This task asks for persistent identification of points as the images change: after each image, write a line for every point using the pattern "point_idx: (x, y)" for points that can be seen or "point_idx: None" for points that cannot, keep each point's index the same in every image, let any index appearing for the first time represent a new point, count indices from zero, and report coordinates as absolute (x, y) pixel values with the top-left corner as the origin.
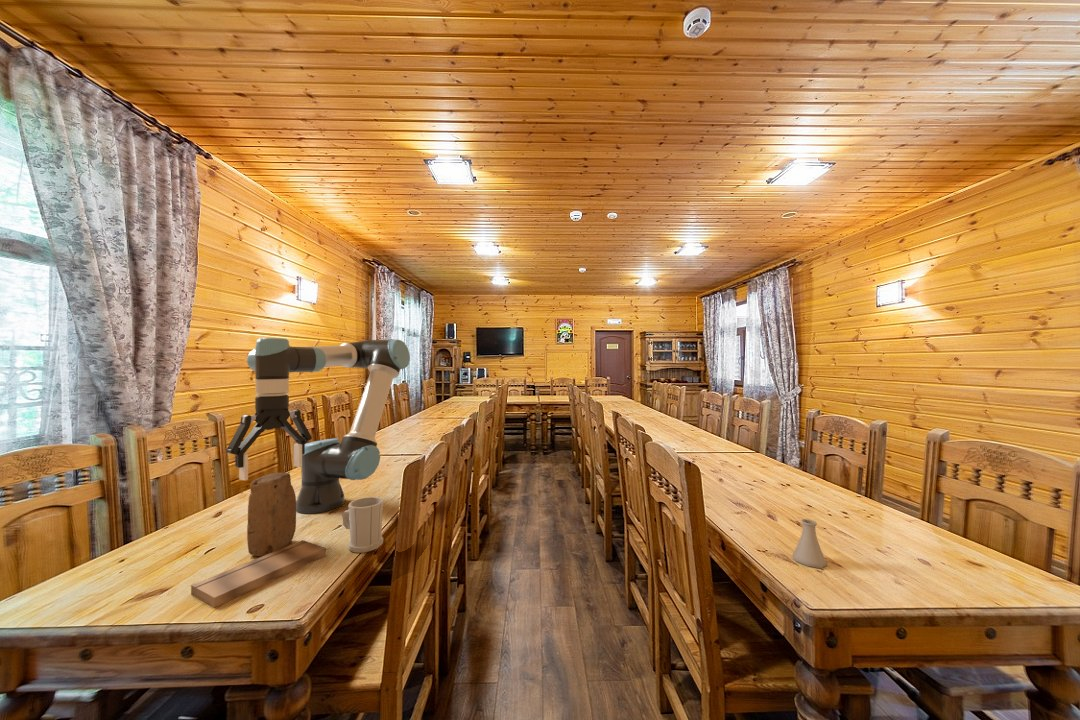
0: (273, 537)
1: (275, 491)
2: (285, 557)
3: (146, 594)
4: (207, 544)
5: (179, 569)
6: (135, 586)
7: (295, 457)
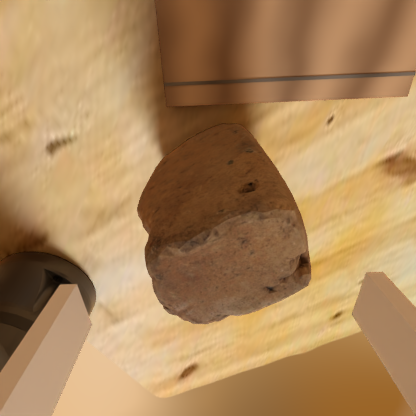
0: (234, 126)
1: (247, 175)
2: (245, 33)
3: (407, 171)
4: None
5: (331, 222)
6: (390, 217)
7: (59, 371)
